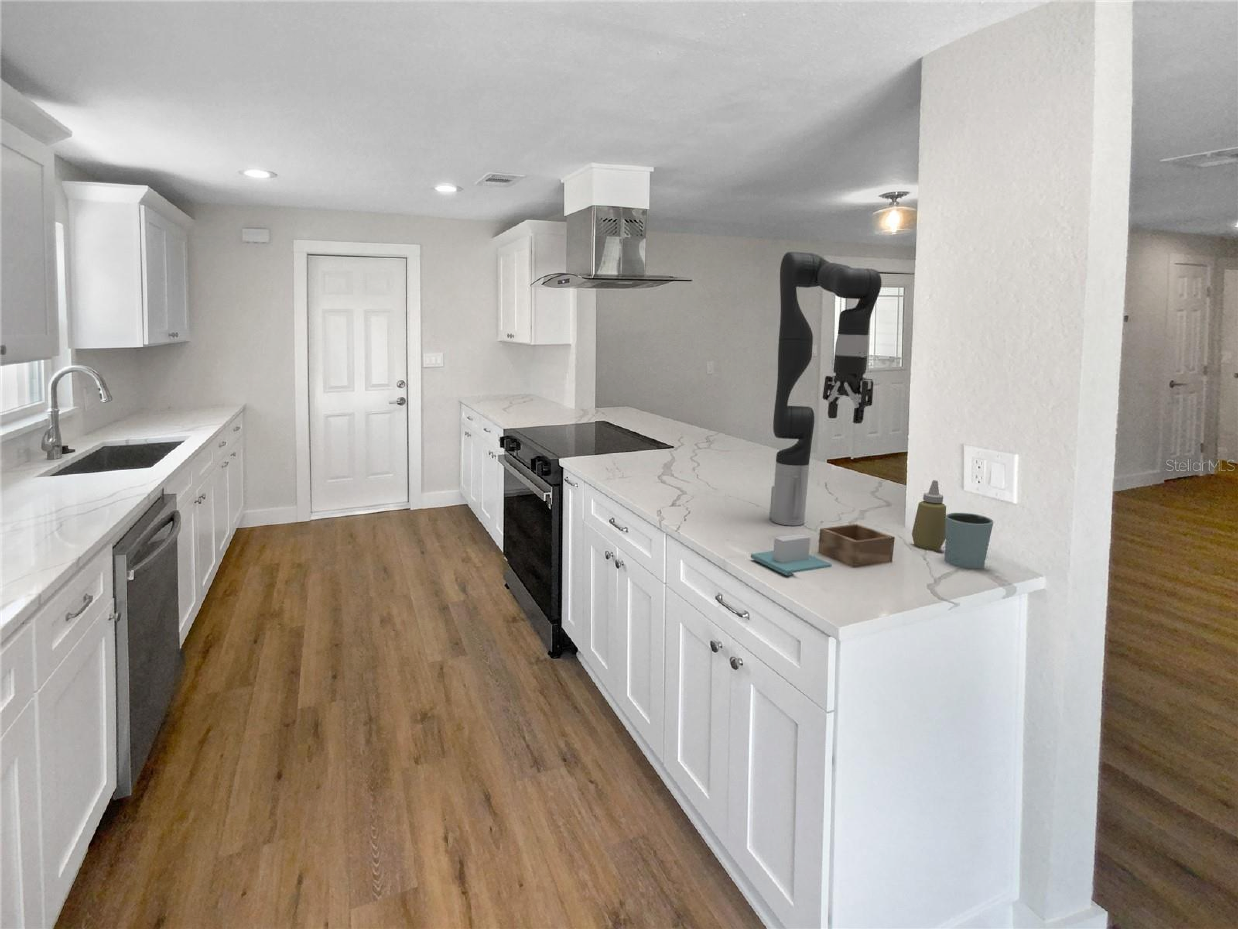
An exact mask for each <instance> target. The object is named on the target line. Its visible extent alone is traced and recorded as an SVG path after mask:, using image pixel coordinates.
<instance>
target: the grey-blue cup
mask: <svg viewBox="0 0 1238 929" xmlns="http://www.w3.org/2000/svg"><path fill="white" fill-rule="evenodd" d="M994 522H995V521H994V520H993V519H992V518H990V517H988V516H984V515H982V514H981V515H980V514H976V513H970V512H969V513H968V512H951V513H950V512H949V513H946V531H945V532H946V533H945V536H946V537H945V541H944V542H945V544H944V562H946V563H947V564H949V565H951V566H955V567H959V568H965V569H982V570H984V569H985V564H986V562H985V561H986V558H987V555H988V554H987V553H988V549H989V548H988V547H989V545H990V544H989V543H990V539H991V535H992V530H993V525H994Z"/></svg>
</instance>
